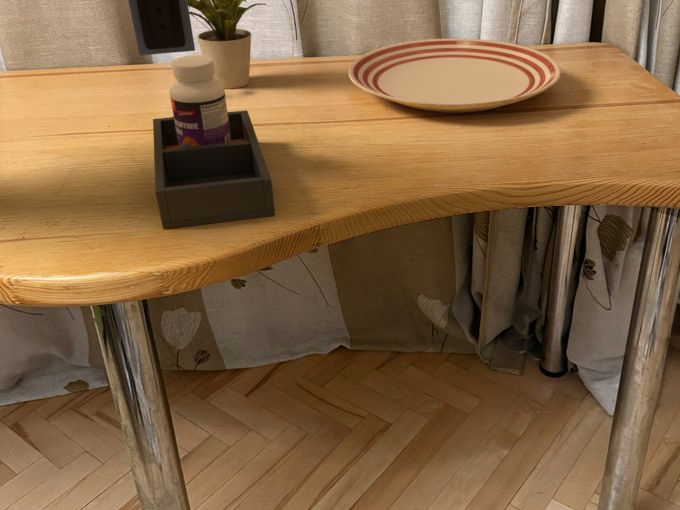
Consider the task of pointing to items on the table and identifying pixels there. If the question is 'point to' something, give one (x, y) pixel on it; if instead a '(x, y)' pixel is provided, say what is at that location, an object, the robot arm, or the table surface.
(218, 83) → the pill bottle
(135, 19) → the gray cube
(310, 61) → the table surface
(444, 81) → the dinner plate
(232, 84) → the house plant
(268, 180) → the sorter
